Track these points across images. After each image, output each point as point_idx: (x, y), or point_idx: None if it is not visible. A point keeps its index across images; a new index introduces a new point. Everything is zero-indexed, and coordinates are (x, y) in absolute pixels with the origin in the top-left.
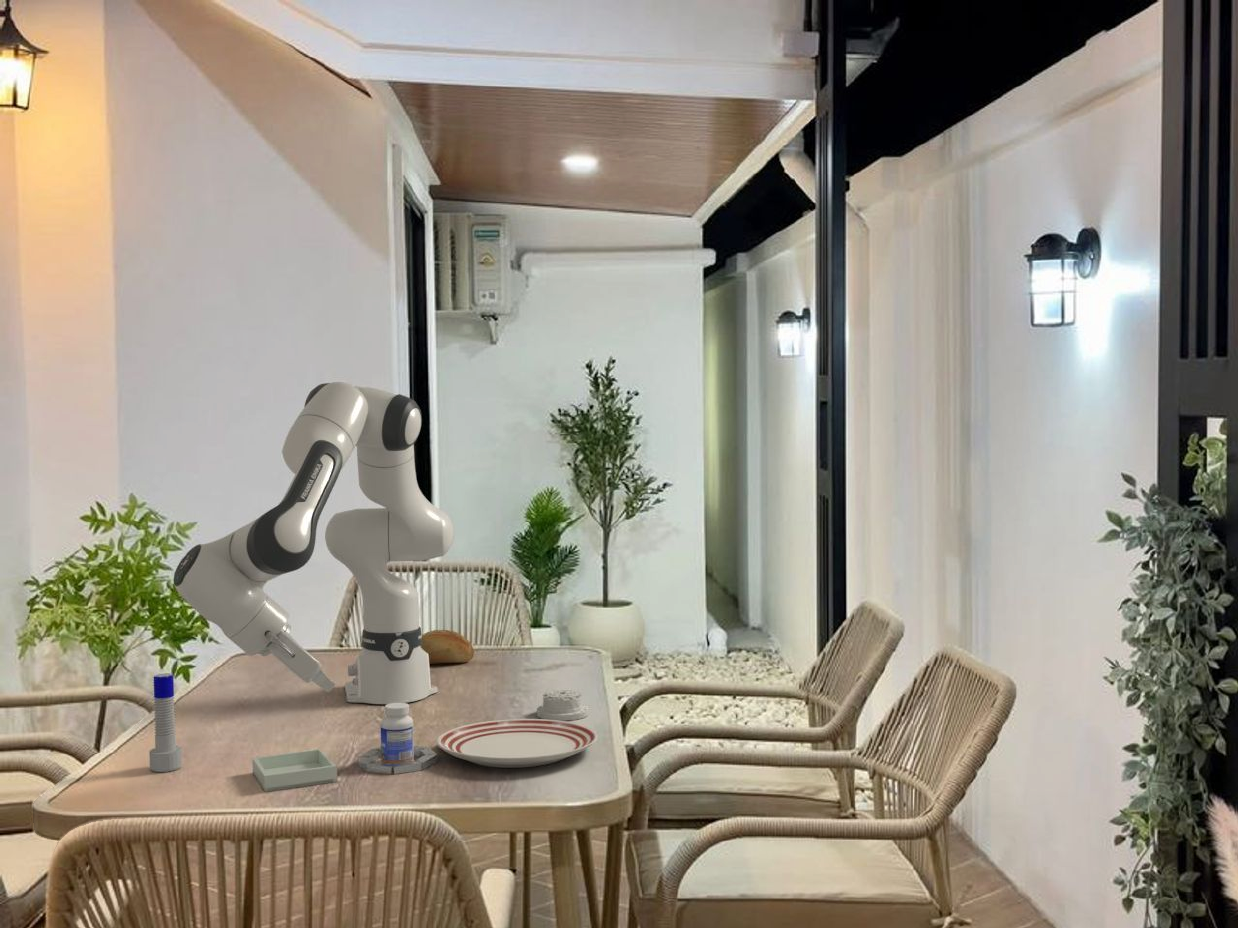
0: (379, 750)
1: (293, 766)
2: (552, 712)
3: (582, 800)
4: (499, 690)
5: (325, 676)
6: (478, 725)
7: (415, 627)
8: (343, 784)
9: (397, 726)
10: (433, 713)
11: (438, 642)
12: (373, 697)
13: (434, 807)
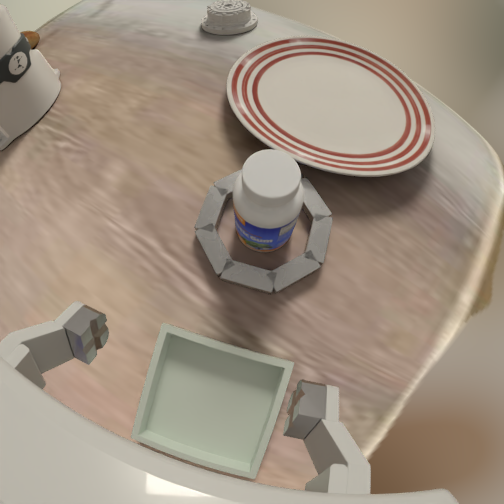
0: (213, 227)
1: (167, 379)
2: (235, 25)
3: (498, 177)
4: (109, 34)
5: (349, 437)
6: (233, 80)
7: (19, 34)
8: (312, 359)
9: (300, 209)
10: (103, 91)
11: None
12: (22, 126)
13: (470, 301)
